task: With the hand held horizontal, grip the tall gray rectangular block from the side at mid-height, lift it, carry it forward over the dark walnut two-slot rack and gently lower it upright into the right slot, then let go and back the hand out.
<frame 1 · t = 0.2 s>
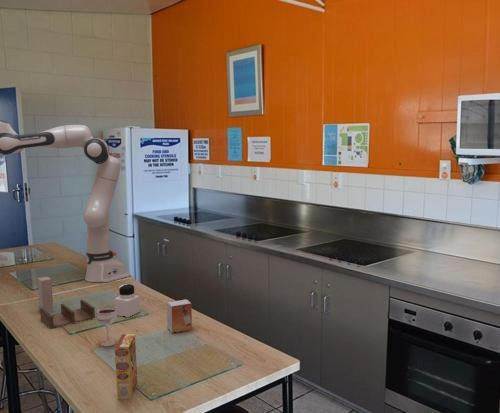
small box: (179, 329, 180), on the table
candy box: (127, 392, 135), on the table
tall gray rectangular block: (46, 311, 199), on the table
wineglass: (108, 343, 167), on the table
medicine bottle: (127, 314, 196), on the table
rack: (67, 318, 190), on the table
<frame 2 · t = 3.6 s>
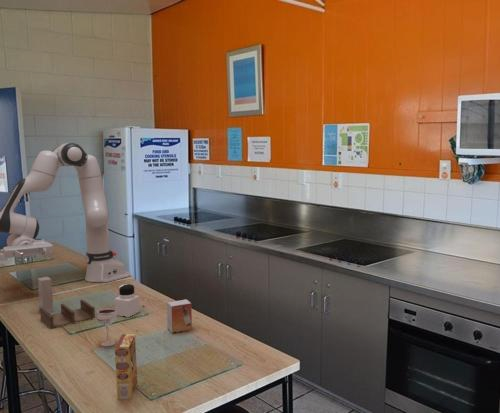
hand: (33, 254, 206), 22 cm above the table, tool horizontal, fingers open, 8 cm apart
nothing on the table moved.
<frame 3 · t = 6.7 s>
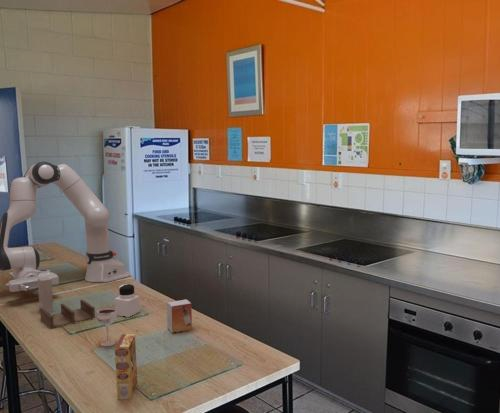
hand: (38, 286, 205), 8 cm above the table, tool horizontal, fingers open, 8 cm apart
nothing on the table moved.
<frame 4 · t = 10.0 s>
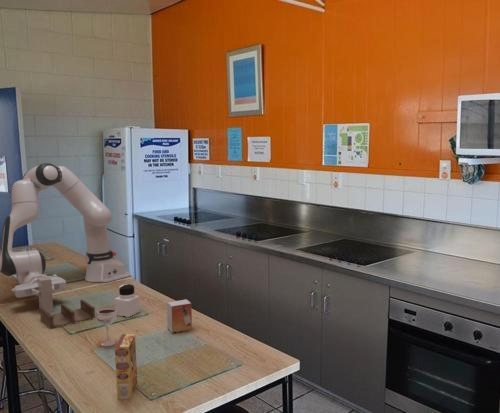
hand: (45, 292, 197), 8 cm above the table, tool horizontal, fingers closed on tall gray rectangular block, 4 cm apart
tall gray rectangular block: (46, 311, 199), on the table, touching gripper
everything else where it was.
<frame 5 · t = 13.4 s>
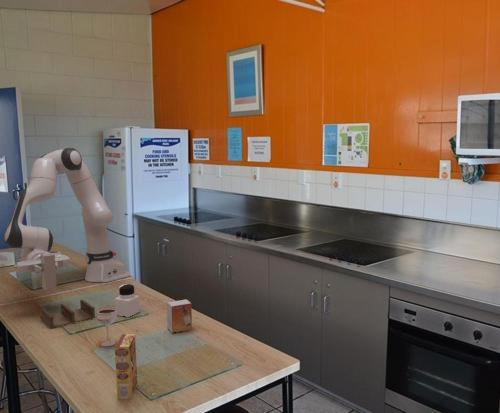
hand: (49, 268, 189), 20 cm above the table, tool horizontal, fingers closed on tall gray rectangular block, 4 cm apart
tall gray rectangular block: (49, 288, 191), point 12 cm above the table, touching gripper
everything else where it was.
when the fingers open (10 cm above the table, at t = 17.3 s): tall gray rectangular block stays where it is, resting on rack.
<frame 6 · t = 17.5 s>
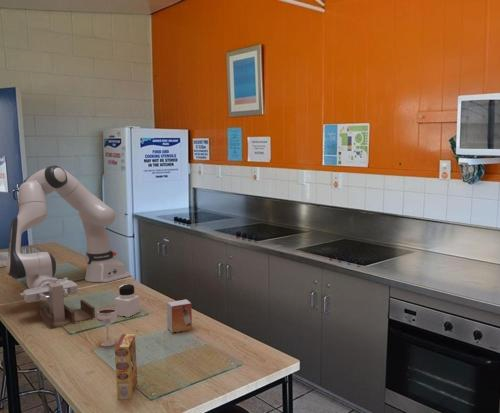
hand: (56, 296, 186), 10 cm above the table, tool horizontal, fingers open, 5 cm apart
tall gray rectangular block: (57, 319, 188), point 1 cm above the table, touching rack
everything else where it was.
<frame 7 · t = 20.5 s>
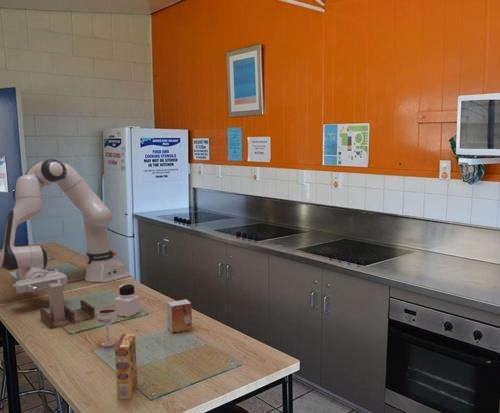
hand: (47, 287, 196), 11 cm above the table, tool horizontal, fingers open, 8 cm apart
nothing on the table moved.
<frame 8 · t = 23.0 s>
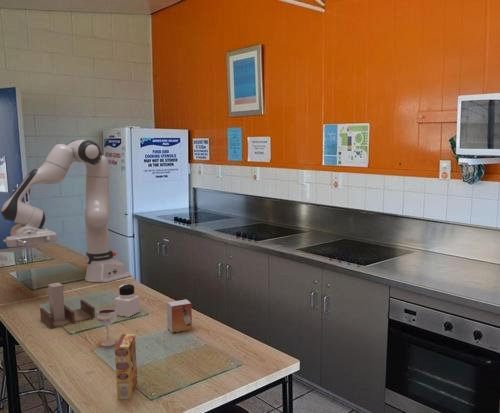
hand: (36, 242, 201), 28 cm above the table, tool horizontal, fingers open, 8 cm apart
nothing on the table moved.
at the end: tall gray rectangular block 0.1 cm from the target spot on the rack, point 0.8 cm above the rack's base; tall gray rectangular block tilted 0°; the gripper is holding nothing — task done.
